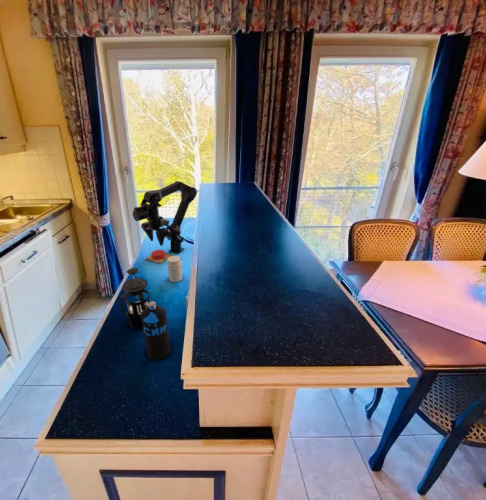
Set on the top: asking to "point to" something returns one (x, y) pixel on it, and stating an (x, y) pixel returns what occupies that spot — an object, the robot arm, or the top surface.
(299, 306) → the top surface
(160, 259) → the cork mat
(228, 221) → the top surface
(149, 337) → the aerosol can
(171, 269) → the jar
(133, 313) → the french press
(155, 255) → the lid
